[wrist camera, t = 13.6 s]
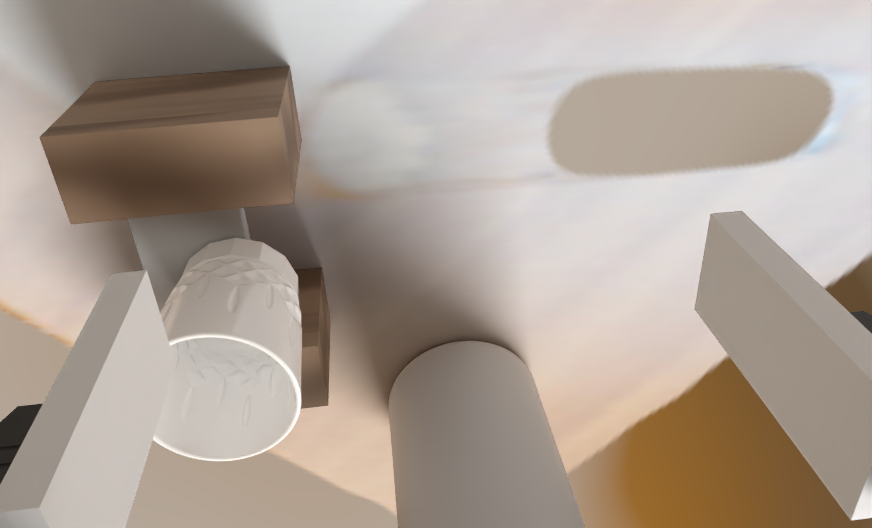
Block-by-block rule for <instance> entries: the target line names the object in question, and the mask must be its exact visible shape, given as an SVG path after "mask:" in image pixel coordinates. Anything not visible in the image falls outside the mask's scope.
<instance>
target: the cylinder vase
mask: <svg viewBox="0 0 872 528" xmlns="http://www.w3.org/2000/svg"><path fill="white" fill-rule="evenodd" d="M389 419H390V431H391V444H392V456H393V469H394V482H395V494H396V507H397V519H398V528H585V525H584V522H583V519H582V517H581V514H580V511H579V508H578V505H577V503H576V499H575V497H574V494H573V491H572V488H571V485H570V482H569V479H568V477H567V474H566V471H565V468H564V465H563V462H562V459H561V457H560V454H559V451H558V448H557V445H556V442H555V439H554V436H553V434H552V431H551V428H550V425H549V422H548V419H547V416H546V414H545V411H544V408H543V405H542V402H541V399H540V396H539V394H538V391H537V388H536V385H535V382H534V379H533V377H532V374H531V372H530V371H529V369H528V368H527V366H526V365H525V364H524V362H523V361H522V360H521V359H520V358H519V357H517V356H516V355H515V354H513V353H512V352H510V351H509V350H507V349H505V348H503V347H500V346H498V345H495V344H491V343H487V342H481V341H457V342H451V343H447V344H443V345H440V346H437V347H435V348H432V349H430V350H428V351H426V352H424V353H422V354H421V355H419V356H418V357H416V358H415V359H414V360H412V361H411V362H410V363H409V364H408V365H407V366H406V367H405V368H404V369H403V370H402V371H401V373H400V374H399V375H398V377H397V379H396V380H395V382H394V384H393V387H392V389H391V393H390V397H389Z"/></svg>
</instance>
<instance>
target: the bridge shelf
mask: <svg viewBox="0 0 872 528" xmlns="http://www.w3.org/2000/svg"><path fill="white" fill-rule="evenodd" d="M40 140H41V143H42V145H43V148H44V151H45V154H46V157H47V159H48V162H49V165H50V168H51V170H52V173H53V176H54V179H55V181H56V184H57V187H58V190H59V193H60V195H61V198H62V201H63V204H64V206H65V209H66V212H67V215H68V217H69V220H70V223H71V224H79V223H90V222H100V221H111V220H121V219H128V223H129V226H130V229H131V232H132V235H133V239H134V242H135V245H136V248H137V251H138V255H139V258H140V261H141V264H142V267H143V270H147V273H148V276H149V279H150V283H151V286H152V289H153V292H154V295H155V299H156V302H157V305H158V308H159V312H160V313H161V310H162V308H163V306H164V305H165V303H166V301H167V299H168V297H169V296H170V294H171V291H172V290H173V288H174V287H175V286H176V285H177V283H178V282H179V280H180V278H181V277H182V274H183V272H184V270H185V268H186V265H187V263H188V261H189V259H190V258H191V257H192V256H193V255H195V254H196V253H197V252H199V251H200V250H201V249H203V248H204V247H205V246H206V245H208V244H209V243H212V242H217V241H222V240H226V239H231V238H242V239H248V240H251V238H250V233H249V228H248V224H247V219H246V214H245V210H244V208H248V207H259V206H269V205H280V204H291V203H293V200H294V193H295V185H296V178H297V171H298V163H299V156H300V149H301V141H302V140H301V134H300V127H299V121H298V115H297V108H296V102H295V96H294V89H293V83H292V77H291V71H290V66H285V67H272V68H260V69H248V70H236V71H223V72H211V73H199V74H186V75H174V76H162V77H150V78H137V79H125V80H113V81H101V82H95V83H94V84H93V85H92V86H91V87H90V88H89V89H88V90H87V91H86V92H85V93H84V94H83V95H82V96H81V97H80V98H79V99H78V100H77V101H76V102H75V103H74V104H73V105H72V106H71V107H70V108H69V109H68V110H67V111H66V112H65V113H64V114H63V115H62V116H61V117H60V118H59V119H57V120H56V121H55V122H54V123H53V124H52V125H51V126H50V127H49V128H48V129H47V130H46V131H45V132H44V133H43V134H42V135H41V136H40ZM294 271H295V272H296V274H297V275H298V284H299V308H300V310H301V325H302V372H301V409H302V408H311V407H319V406H328V392H329V354H330V317H329V310H328V304H327V298H326V292H325V285H324V279H323V273H322V268H313V269H303V270H294Z"/></svg>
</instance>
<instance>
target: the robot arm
mask: <svg viewBox="0 0 872 528" xmlns="http://www.w3.org/2000/svg"><path fill="white" fill-rule="evenodd" d="M695 310H696V312H697V313H698V314H699V316H700V317H701V318H702V320H703V321H704V322H705V324H706V325H707V327H708V328H709V329H710V331H711V332H712V333H713V335H714V336H715V337H716V339H717V340H718V341H719V343H720V344H721V345H722V347H723V348H724V349H725V351H726V352H727V354H728V355H729V356H730V358H731V359H732V360H733V362H734V363H735V364H736V365H737V367H738V368H739V370H740V371H741V372H742V373H743V375H744V376H745V378H746V379H747V381H748V382H749V383H750V385H751V386H752V387H753V389H754V390H755V391H756V393H757V394H758V395H759V397H760V398H761V399H762V401H763V402H764V403H765V405H766V406H767V408H768V409H769V410H770V412H771V413H772V414H773V416H774V417H775V418H776V420H777V421H778V422H779V424H780V425H781V426H782V428H783V429H784V431H785V432H786V433H787V434H788V436H789V437H790V439H791V440H792V441H793V443H794V444H795V445H796V447H797V448H798V449H799V451H800V452H801V453H802V455H803V456H804V457H805V459H806V460H807V462H808V463H809V464H810V466H811V467H812V468H813V469H814V471H815V472H816V474H817V475H818V476H819V478H820V479H821V480H822V482H823V483H824V485H825V486H826V487H827V489H828V490H829V491H830V493H831V494H832V495H833V496H834V498H835V499H836V501H837V502H838V503H839V505H840V506H841V508H842V509H843V510H844V512H845V513H846V514H847V516H848V517H849V518H850V520H856V519H865V518H872V315H870V314H868V313H867V312H864V311H860V312H851V313H849V312H848V311H847V310H846V309H845V308H844V307H843V306H842V305H841V304H840V303H839V302H838V301H837V300H835V298H833V297H832V296H831V295H830V294H829V293H828V292H827V291H826V290H825V289H824V288H823V287H822V286H821V285H820V284H819V283H818V282H817V281H815V280H814V279H813V278H812V277H811V276H810V275H809V274H808V273H807V272H806V271H805V270H804V269H803V268H802V267H801V266H800V265H799V264H797V263H796V262H795V261H794V260H793V259H792V258H791V257H790V256H789V255H788V254H787V253H786V252H785V251H784V250H783V249H782V248H781V247H779V246H778V245H777V244H776V243H775V242H774V241H773V240H772V239H771V238H770V237H769V236H768V235H767V234H766V233H765V232H764V231H763V230H761V229H760V228H759V227H758V226H757V225H756V224H755V223H754V222H753V221H752V220H751V219H750V218H749V217H748V216H747V215H746V214H745V213H743V212H742V211H735V212H725V213H715V214H711V215H710V221H709V227H708V233H707V239H706V244H705V250H704V256H703V262H702V268H701V274H700V280H699V286H698V292H697V298H696V304H695ZM175 368H176V363H175V360H174V357H173V354H172V350H171V347H170V344H169V341H168V337H167V334H166V331H165V328H164V325H163V321H162V318H161V315H160V312H159V308H158V305H157V302H156V299H155V295H154V292H153V289H152V286H151V283H150V279H149V276H148V273H147V270H142V271H132V272H122V273H112V274H111V276H110V278H109V280H108V282H107V283H106V285H105V287H104V289H103V291H102V293H101V295H100V297H99V299H98V301H97V302H96V304H95V306H94V308H93V310H92V312H91V314H90V316H89V318H88V319H87V321H86V323H85V325H84V327H83V329H82V331H81V333H80V335H79V337H78V338H77V340H76V342H75V344H74V346H73V348H72V350H71V352H70V354H69V355H68V357H67V359H66V361H65V363H64V365H63V367H62V369H61V371H60V373H59V375H58V376H57V378H56V380H55V382H54V384H53V386H52V388H51V390H50V391H49V393H48V396H47V397H46V399H45V401H44V403H43V404H36V405H27V406H18V407H17V408H16V409H14V410H13V411H12V412H11V413H10V414H9V415H8V416H7V417H6V418H5V419H3V420H2V421H1V422H0V528H125V526H126V523H127V520H128V517H129V514H130V510H131V507H132V504H133V501H134V498H135V494H136V491H137V488H138V485H139V482H140V478H141V475H142V472H143V469H144V466H145V463H146V459H147V456H148V453H149V450H150V447H151V444H152V440H153V437H154V434H155V431H156V428H157V425H158V422H159V418H160V415H161V412H162V409H163V406H164V402H165V399H166V396H167V393H168V390H169V387H170V383H171V380H172V377H173V374H174V371H175Z"/></svg>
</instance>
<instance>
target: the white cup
mask: <svg viewBox="0 0 872 528" xmlns="http://www.w3.org/2000/svg"><path fill="white" fill-rule="evenodd" d="M160 315H161V318H162V321H163V325H164V328H165V331H166V334H167V337H168V341H169V344H170V347H171V350H172V354H173V357H174V360H175V363H176V368H175V371H174V374H173V377H172V380H171V383H170V387H169V390H168V393H167V396H166V399H165V402H164V406H163V409H162V412H161V415H160V418H159V422H158V425H157V428H156V431H155V434H154V437H153V440H154V441H155V442H157V443H158V444H160V445H161V446H163V447H165V448H167V449H168V450H171V451H173V452H175V453H178V454H180V455H183V456H186V457H190V458H195V459H200V460H207V461H231V460H238V459H243V458H247V457H251V456H254V455H257V454H260V453H262V452H264V451H266V450H268V449H270V448H272V447H273V446H275V445H276V444H278V443H279V442H280V441H281V440H282V439H284V438H285V437H286V436H287V435H288V433H289V432H290V431H291V430H292V428H293V427H294V425H295V423H296V421H297V419H298V416H299V413H300V409H301V372H302V325H301V310H300V308H299V284H298V275H297V274H296V272H295V271H294V269H293V268H292V266H291V265H290V263H289V262H288V260H287V258H286V257H285V256H284V255H282V254H281V253H279V252H278V251H276V250H274V249H273V248H271V247H270V246H268V245H266V244H265V243H263V242H259V241H253V240H248V239H242V238H231V239H226V240H222V241H217V242H212V243H209V244H208V245H206V246H205V247H204V248H203V249H201V250H200V251H199V252H197V253H196V254H195V255H193V256H192V257H191V258H190V259H189V261H188V263H187V265H186V268H185V270H184V272H183V274H182V277H181V278H180V280H179V282H178V283H177V285H176V286H175V287H174V288H173V290H172V291H171V294H170V296H169V297H168V299H167V301H166V303H165V305H164V306H163V308H162V310H161V313H160Z"/></svg>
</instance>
